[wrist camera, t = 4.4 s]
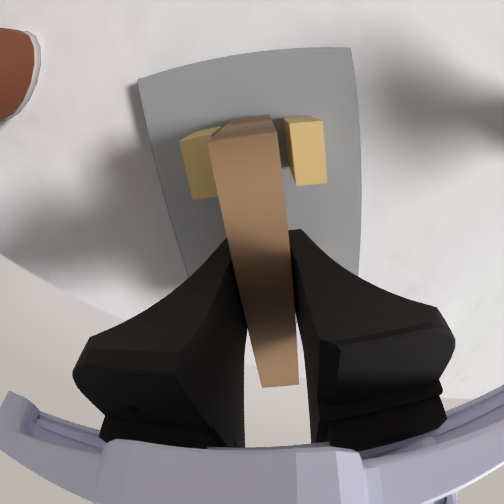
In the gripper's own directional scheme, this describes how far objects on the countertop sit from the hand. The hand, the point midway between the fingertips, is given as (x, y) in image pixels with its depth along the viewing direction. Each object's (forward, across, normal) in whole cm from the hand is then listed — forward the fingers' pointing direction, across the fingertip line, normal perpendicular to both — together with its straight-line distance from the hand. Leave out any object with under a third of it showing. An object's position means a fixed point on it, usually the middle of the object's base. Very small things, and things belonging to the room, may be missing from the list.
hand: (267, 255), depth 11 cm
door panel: (+3, 0, 0) cm, 3 cm away
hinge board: (+5, 0, 0) cm, 5 cm away
